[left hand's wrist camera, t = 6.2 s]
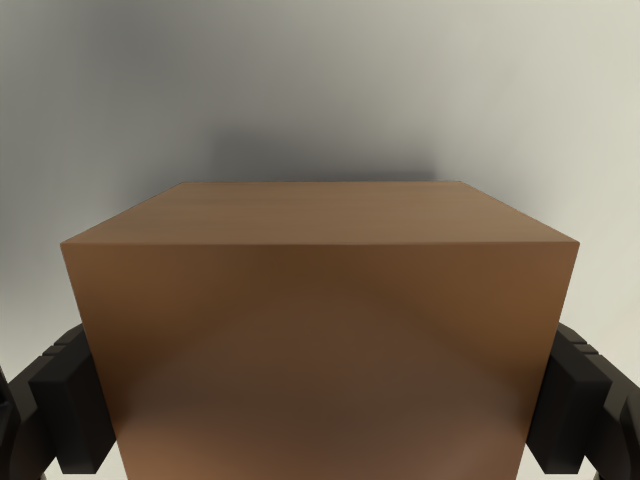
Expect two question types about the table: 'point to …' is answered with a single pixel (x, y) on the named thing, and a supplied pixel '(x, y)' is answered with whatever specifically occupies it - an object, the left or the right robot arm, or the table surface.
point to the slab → (320, 329)
